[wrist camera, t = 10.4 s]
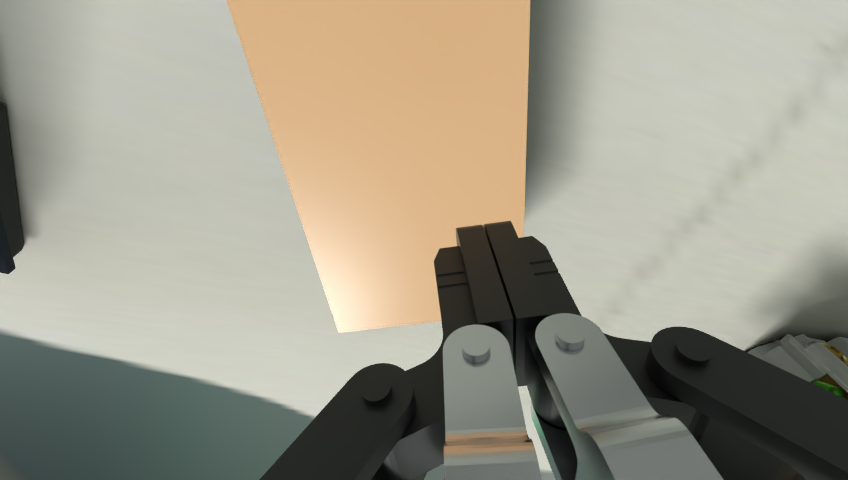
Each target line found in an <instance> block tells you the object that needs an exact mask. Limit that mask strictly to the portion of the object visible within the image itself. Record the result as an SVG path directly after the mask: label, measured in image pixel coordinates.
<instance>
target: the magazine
mask: <svg viewBox="0 0 848 480" xmlns="http://www.w3.org/2000/svg"><path fill="white" fill-rule="evenodd" d="M22 249H23V238H22V230H21V222H20V214H19V207H18V199H17V191H16V183H15V175H14V168H13V160H12V152H11V144H10V136H9V129H8V121H7V113H6V107H5V105H4V104H3V103H2V102H0V272H1V273H5V274H9V273H10V272H12V271H13V270H14V269H15V264H14V260H13V257H14V256H15V255H16V254H18V253H19V252H20V251H21V250H22Z"/></svg>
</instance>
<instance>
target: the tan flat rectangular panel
mask: <svg viewBox="0 0 848 480" xmlns="http://www.w3.org/2000/svg"><path fill="white" fill-rule="evenodd" d="M227 3H228V6H229V9H230V12H231V15H232V18H233V21H234V24H235V27H236V29H237V32H238V35H239V38H240V41H241V44H242V47H243V50H244V53H245V56H246V59H247V62H248V65H249V68H250V71H251V74H252V77H253V80H254V83H255V86H256V89H257V92H258V95H259V98H260V101H261V104H262V107H263V110H264V113H265V116H266V119H267V122H268V124H269V127H270V130H271V133H272V136H273V139H274V142H275V145H276V148H277V151H278V154H279V157H280V160H281V163H282V166H283V169H284V172H285V175H286V178H287V181H288V184H289V187H290V190H291V193H292V196H293V199H294V202H295V205H296V208H297V211H298V214H299V217H300V219H301V222H302V225H303V228H304V231H305V234H306V237H307V240H308V243H309V246H310V249H311V252H312V255H313V258H314V261H315V264H316V267H317V270H318V273H319V276H320V279H321V282H322V285H323V288H324V291H325V294H326V297H327V300H328V303H329V306H330V309H331V312H332V314H333V317H334V320H335V323H336V326H337V329H338V332H339V333H342V332H350V331H359V330H367V329H376V328H385V327H393V326H402V325H410V324H419V323H428V322H436V321H441V313H440V306H439V298H438V291H437V283H436V275H435V268H434V260H435V257H436V255H437V253H438V251H439V249H440V248H447V247H454V246H457V241H456V228H459V227H467V226H474V225H484V224H489V223H496V222H504V221H511V222H512V224H513V226H514V229H515V231H516V233H517V236H518V238H521V237H524V212H525V176H526V141H527V105H528V69H529V34H530V0H227Z"/></svg>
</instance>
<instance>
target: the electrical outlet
mask: <svg viewBox="0 0 848 480" xmlns="http://www.w3.org/2000/svg"><path fill="white" fill-rule="evenodd" d="M747 353H749V354H751V355H753V356H755V357H757V358H760V359H762V360H764V361H766V362H768V363H770V364H772V365H774V366H776V367H779V368H781V369H783V370H785V371H787V372H789V373H791V374H793V375H796V376H798V377H800V378H802V379H804V380H806V381H808V382H810V383H813V384H815V385H817V386H819V387H821V388H823V389H825V390H827V391H829V392H832V393H834V394H836V395H838V396H840V397H842V398H844V399H846V400H848V338H845V337H837V338H835V339H833V340H831V341H828V342H826V341H824V340H819V339H814V338H808V337H807V336H805V335H804V334H802V335H799V336H795V337H793V336H792V335H790V334H787V335H786V336H785V337H784V338H782V339H781V340H776V341H775V342H772V343H769V344H765V345H762V346H759V347H756V348H754V349H752V350H750V351H749V352H747Z"/></svg>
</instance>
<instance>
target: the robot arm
mask: <svg viewBox="0 0 848 480" xmlns="http://www.w3.org/2000/svg"><path fill="white" fill-rule="evenodd" d="M456 241H457V246H454V247H447V248H440V249H439V251H438V253H437V255H436V257H435V260H434V268H435V275H436V283H437V291H438V298H439V306H440V313H441V321H442V328H443V341H442V344H441V346H440V348H439V349H438V351H437V352H436V353H435V355H434V356H432V357H431V358H430V359H429V360H427V361H426V362H424V363H422V364H420V365H418V366H416V367H414V368H411V369H409V370H407V371H404V370H403V369H401V368H400V367H398V366H395V365H392V364H386V363H380V364H374V365H370V366H368V367H365V368H363V369H361V370H360V371H358V372H357V373H356V374H355V375H354V376H353V377H352V378H351V379H350V380H349V381H348V382H347V383H346V384H345V385H344V386H343V387H342V389H341V390H340V391H339V392H338V393H337V394H336V395H335V396H334V397H333V399H332V400H331V401H330V402H329V403H328V404H327V405H326V406H325V407H324V409H323V410H322V411H321V412H320V413H319V414H318V415H317V416H316V417H315V419H314V420H313V421H312V422H311V423H310V424H309V425H308V427H307V428H306V429H305V430H304V431H303V432H302V433H301V434H300V435H299V437H298V438H297V439H296V440H295V441H294V442H293V443H292V444H291V445H290V446H289V448H288V449H287V450H286V451H285V452H284V453H283V454H282V455H281V457H280V458H279V459H278V460H277V461H276V462H275V463H274V464H273V465H272V466H271V468H270V469H269V470H268V471H267V472H266V473H265V474H264V475H263V477H262V478H261V479H260V480H424V478H425V476H426V474H427V472H428V471H430V470H432V469H434V468H436V467H438V466H440V465H442V464H444V480H542V479H541V475H540V469H539V465H538V460H537V455H536V451H535V448H534V445H533V442H532V440H531V439H529V437H528V434H527V431H526V426H525V421H524V416H523V411H522V406H521V401H520V396H519V391H518V386H526V385H527V387H528V390H529V394H530V397H531V416H532V419H533V422H534V425H535V427H536V430H537V433H538V435H539V438H540V440H541V443H542V446H543V448H544V451H545V453H546V456H547V459H548V461H549V464H550V467H551V469H552V472H553V474H554V477H555V479H556V480H848V400H846V399H844V398H842V397H840V396H838V395H836V394H834V393H832V392H829V391H827V390H825V389H823V388H821V387H819V386H817V385H815V384H813V383H810V382H808V381H806V380H804V379H802V378H800V377H798V376H796V375H793V374H791V373H789V372H787V371H785V370H783V369H781V368H779V367H776V366H774V365H772V364H770V363H768V362H766V361H764V360H762V359H760V358H757V357H755V356H753V355H751V354H749V353H747V352H745V351H743V350H740V349H738V348H736V347H734V346H732V345H730V344H728V343H726V342H723V341H721V340H719V339H717V338H715V337H713V336H711V335H709V334H706V333H704V332H702V331H699V330H696V329H692V328H687V327H670V328H666V329H663V330H661V331H659V332H658V333H657V334H655V336H654V337H653V339H652V342H645V341H637V340H630V339H622V338H617V337H613V336H609V335H607V334H604V333H603V332H602V331H601V329H600V328H599V327H598V326H597V325H596V324H595V323H593V322H592V321H590V320H589V319H587V318H585V317H582V316H581V314H580V312H579V310H578V308H577V306H576V304H575V302H574V300H573V299H572V297H571V295H570V293H569V291H568V289H567V287H566V285H565V283H564V281H563V279H562V277H561V275H560V273H558V269H557V267H556V265H555V263H554V262H553V260H552V258H551V256H550V254H549V252H548V250H547V248H546V246H545V245H543V244H542V243H541V242H539V241H538V240H537V239H535V238H534V237H533V236H529V237H521V238H518V236H517V233H516V231H515V229H514V226H513V224H512V222H511V221H504V222H496V223H489V224H484V225H474V226H467V227H459V228H456Z"/></svg>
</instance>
